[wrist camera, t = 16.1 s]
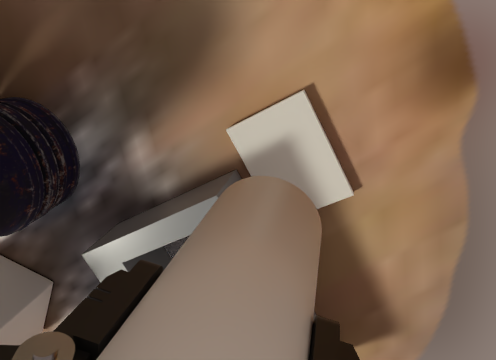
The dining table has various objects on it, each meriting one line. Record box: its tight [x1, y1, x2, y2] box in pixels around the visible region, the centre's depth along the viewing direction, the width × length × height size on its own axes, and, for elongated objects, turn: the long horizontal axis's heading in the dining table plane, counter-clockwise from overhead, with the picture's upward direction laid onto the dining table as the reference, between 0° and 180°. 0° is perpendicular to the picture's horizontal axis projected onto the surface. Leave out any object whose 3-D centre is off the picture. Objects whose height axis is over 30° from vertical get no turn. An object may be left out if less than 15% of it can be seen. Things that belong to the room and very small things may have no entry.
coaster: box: [226, 90, 354, 209], centre depth 27 cm, size 8×6×1 cm
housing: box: [82, 170, 316, 321], centre depth 30 cm, size 18×12×5 cm, turn 29°
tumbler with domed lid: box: [96, 176, 322, 360], centre depth 11 cm, size 6×6×16 cm
